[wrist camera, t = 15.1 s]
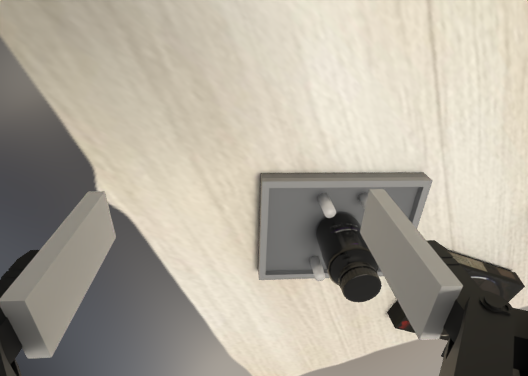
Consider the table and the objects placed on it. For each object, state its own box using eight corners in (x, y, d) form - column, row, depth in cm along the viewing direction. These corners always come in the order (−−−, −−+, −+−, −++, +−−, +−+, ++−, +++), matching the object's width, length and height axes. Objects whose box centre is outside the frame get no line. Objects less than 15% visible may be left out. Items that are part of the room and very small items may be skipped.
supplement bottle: (343, 202, 47) (374, 258, 36) (366, 230, 50) (401, 289, 39) (305, 228, 48) (324, 288, 38) (330, 254, 51) (353, 316, 41)
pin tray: (258, 269, 54) (260, 294, 49) (260, 173, 45) (263, 192, 40) (395, 265, 56) (410, 289, 51) (423, 172, 47) (444, 191, 42)
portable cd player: (510, 267, 59) (527, 284, 55) (451, 326, 66) (463, 344, 63) (440, 244, 55) (453, 260, 51) (386, 310, 62) (395, 328, 59)
